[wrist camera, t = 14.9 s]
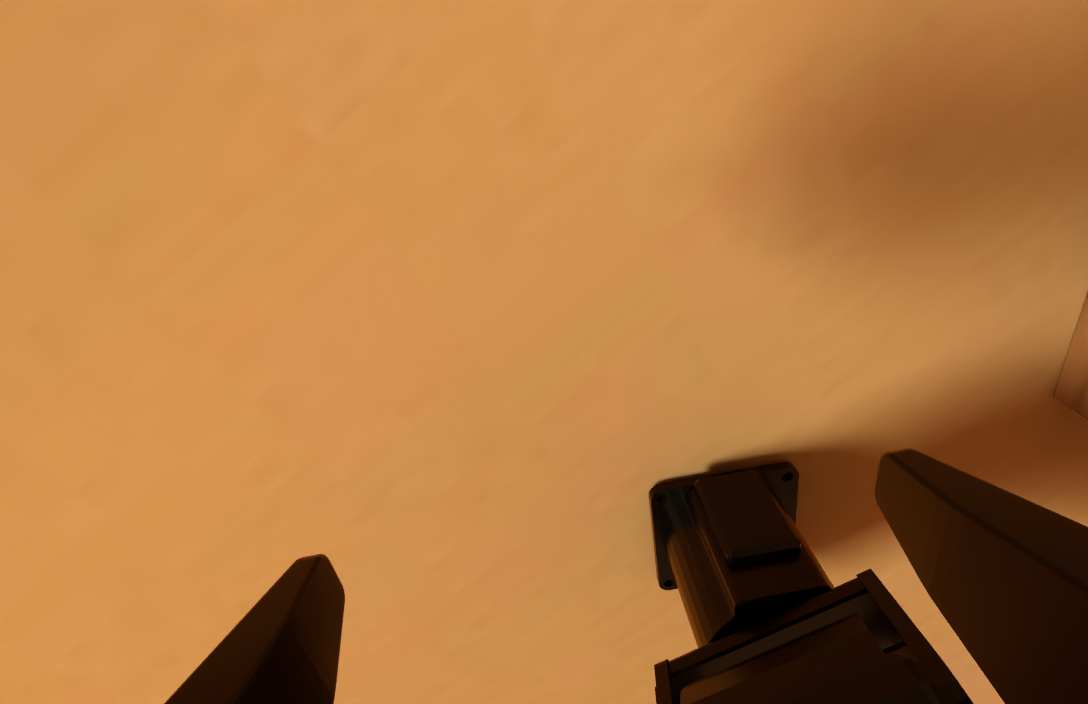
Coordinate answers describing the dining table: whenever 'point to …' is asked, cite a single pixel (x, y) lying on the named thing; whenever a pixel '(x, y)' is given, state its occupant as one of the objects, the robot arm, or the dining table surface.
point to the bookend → (1076, 369)
